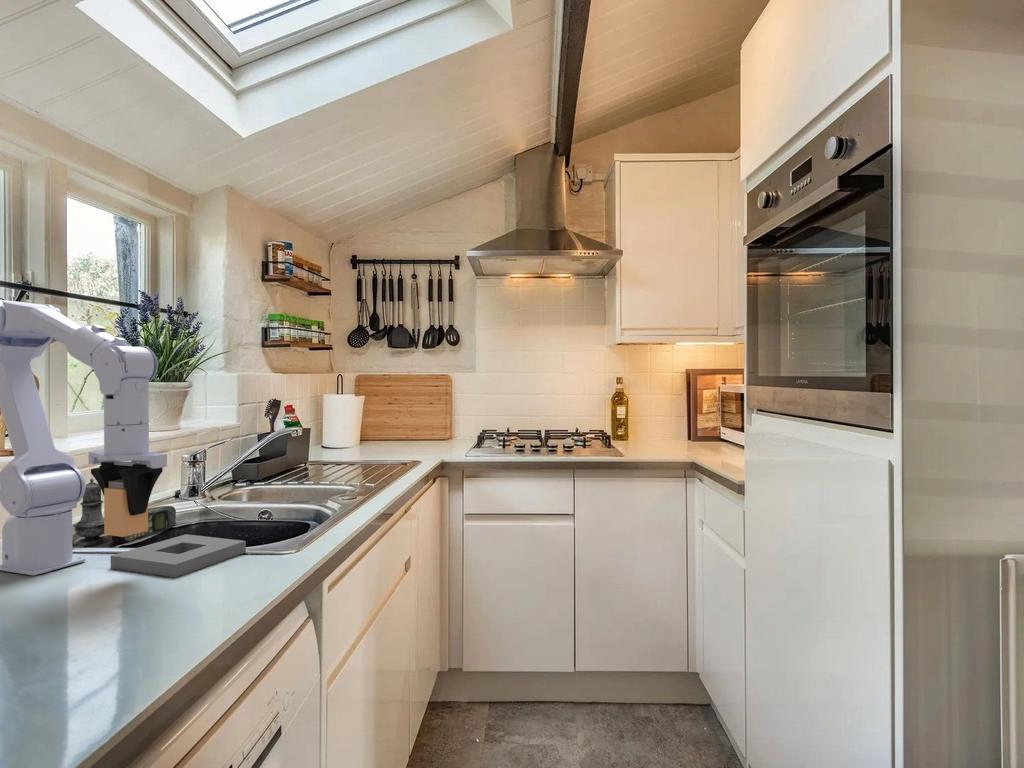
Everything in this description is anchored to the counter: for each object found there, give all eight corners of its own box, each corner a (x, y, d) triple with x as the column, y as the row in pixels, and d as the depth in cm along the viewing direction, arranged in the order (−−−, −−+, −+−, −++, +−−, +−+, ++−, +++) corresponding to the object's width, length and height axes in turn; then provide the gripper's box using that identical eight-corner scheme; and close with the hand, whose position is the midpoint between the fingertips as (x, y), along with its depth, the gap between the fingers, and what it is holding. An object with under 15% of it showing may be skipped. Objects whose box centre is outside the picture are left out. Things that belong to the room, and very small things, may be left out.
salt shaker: (90, 546, 106) (90, 481, 106) (64, 545, 107) (64, 480, 107) (118, 538, 112) (118, 476, 112) (93, 536, 113) (93, 475, 113)
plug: (104, 534, 88) (104, 481, 88) (130, 528, 91) (129, 477, 91) (122, 536, 86) (122, 483, 86) (148, 530, 90) (147, 478, 90)
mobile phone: (120, 520, 107) (183, 501, 122) (107, 519, 108) (171, 501, 122) (121, 546, 107) (183, 525, 122) (107, 545, 108) (171, 524, 123)
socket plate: (110, 568, 93) (110, 555, 93) (186, 545, 107) (185, 534, 107) (175, 577, 89) (175, 564, 89) (245, 552, 102) (245, 540, 102)
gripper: (67, 424, 88) (67, 514, 88) (135, 427, 82) (135, 522, 82) (113, 421, 94) (114, 505, 94) (179, 423, 89) (179, 512, 89)
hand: (127, 512), depth 89 cm, fingers closed on plug, 4 cm apart
